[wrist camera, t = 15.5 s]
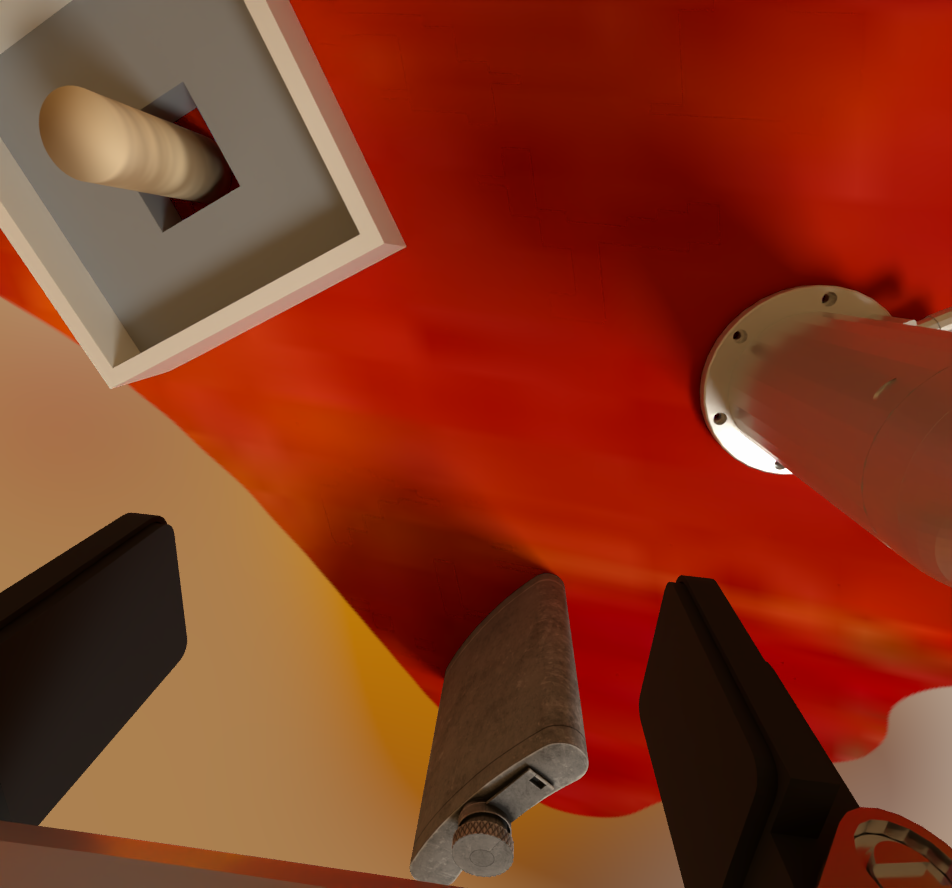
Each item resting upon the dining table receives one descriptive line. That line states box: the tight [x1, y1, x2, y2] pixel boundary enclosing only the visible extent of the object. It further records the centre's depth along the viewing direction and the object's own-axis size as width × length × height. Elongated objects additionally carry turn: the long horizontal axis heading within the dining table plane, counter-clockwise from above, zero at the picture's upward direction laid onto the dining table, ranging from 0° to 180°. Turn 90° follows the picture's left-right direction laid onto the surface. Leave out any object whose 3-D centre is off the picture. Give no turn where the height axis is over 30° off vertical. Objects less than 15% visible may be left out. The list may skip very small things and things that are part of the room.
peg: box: [39, 86, 232, 204], centre depth 29 cm, size 4×4×10 cm
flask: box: [410, 573, 588, 885], centre depth 35 cm, size 4×14×18 cm, turn 142°
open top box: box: [0, 0, 407, 389], centre depth 31 cm, size 20×20×6 cm
